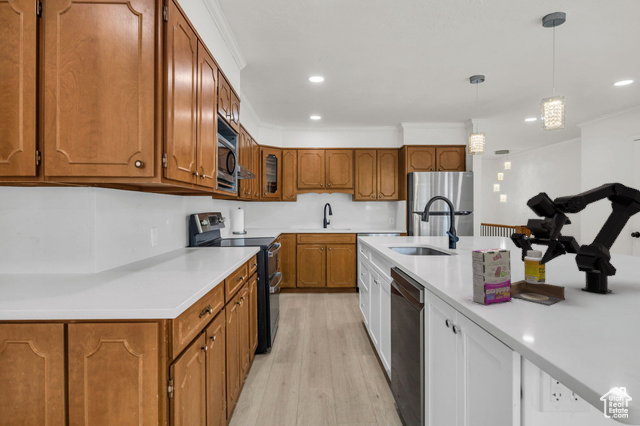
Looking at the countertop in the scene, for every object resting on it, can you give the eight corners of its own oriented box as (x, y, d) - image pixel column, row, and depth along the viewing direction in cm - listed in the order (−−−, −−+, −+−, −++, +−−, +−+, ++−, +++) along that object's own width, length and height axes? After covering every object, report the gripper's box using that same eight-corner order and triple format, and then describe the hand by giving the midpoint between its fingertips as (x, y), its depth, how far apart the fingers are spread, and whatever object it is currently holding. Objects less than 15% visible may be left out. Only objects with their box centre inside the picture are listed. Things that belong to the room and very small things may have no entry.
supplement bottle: (541, 285, 95) (540, 252, 95) (521, 282, 100) (520, 251, 100) (548, 282, 98) (548, 251, 98) (529, 279, 103) (528, 249, 103)
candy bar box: (498, 297, 101) (497, 247, 101) (512, 301, 96) (511, 249, 96) (471, 301, 97) (471, 250, 97) (484, 305, 93) (484, 252, 93)
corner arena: (524, 291, 108) (524, 279, 108) (565, 299, 97) (565, 286, 97) (506, 296, 102) (506, 284, 102) (548, 305, 91) (548, 292, 91)
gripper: (512, 210, 109) (492, 243, 104) (574, 209, 92) (553, 249, 87) (527, 230, 112) (508, 263, 108) (588, 234, 95) (569, 273, 91)
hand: (531, 262), depth 98 cm, fingers closed on supplement bottle, 6 cm apart
